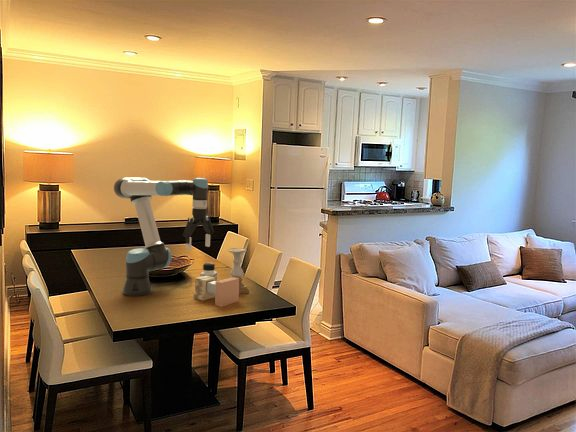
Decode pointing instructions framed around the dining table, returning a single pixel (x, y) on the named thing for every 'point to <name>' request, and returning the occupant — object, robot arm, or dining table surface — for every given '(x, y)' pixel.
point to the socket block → (227, 291)
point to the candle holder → (238, 268)
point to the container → (209, 270)
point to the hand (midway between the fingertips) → (198, 248)
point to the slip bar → (211, 286)
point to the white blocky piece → (202, 288)
